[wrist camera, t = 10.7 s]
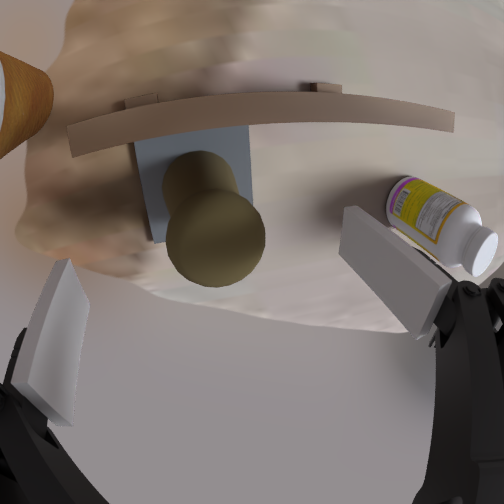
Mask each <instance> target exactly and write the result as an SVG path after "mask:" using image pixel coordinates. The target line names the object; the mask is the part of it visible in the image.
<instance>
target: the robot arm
mask: <svg viewBox="0 0 504 504" xmlns="http://www.w3.org/2000/svg"><path fill="white" fill-rule="evenodd" d="M339 255H340V256H341V257H342V258H343V259H344V260H345V261H346V262H347V263H348V264H349V265H350V266H351V268H352V269H353V270H354V271H355V272H356V273H357V274H358V275H359V276H360V277H361V278H362V279H363V280H364V281H365V283H366V284H367V285H368V286H369V287H370V288H371V289H372V290H373V291H374V292H375V294H376V295H377V296H378V297H379V298H380V299H381V300H382V301H383V302H384V304H385V305H386V306H387V307H388V308H389V309H390V310H391V312H392V313H393V314H394V315H395V316H396V317H397V318H398V320H399V321H400V322H401V323H402V324H403V325H404V327H405V328H406V329H407V330H408V331H409V332H410V334H411V335H412V336H413V337H414V338H415V339H416V340H417V339H419V338H421V337H422V336H424V335H426V334H428V333H429V331H430V329H431V327H432V325H433V323H434V324H435V325H436V326H437V330H436V331H435V333H434V335H433V337H432V339H431V341H430V343H429V347H431V346H432V344H433V342H434V341H435V346H434V347H435V348H436V389H435V408H434V420H433V429H432V439H431V446H430V453H429V459H428V464H427V470H426V475H425V480H424V483H423V486H422V487H421V489H420V490H419V491H418V493H417V494H416V496H415V498H414V500H413V503H412V504H504V279H501V278H494V279H492V280H491V283H490V285H489V287H488V288H483V289H481V288H480V287H479V286H478V285H476V284H475V283H473V282H470V281H464V280H463V281H460V282H458V281H457V280H455V279H454V278H453V277H452V276H451V275H450V274H449V273H447V272H446V271H445V270H444V269H443V268H442V267H440V266H439V265H438V264H436V262H434V261H433V260H432V259H430V257H428V256H427V255H426V254H425V253H423V252H422V251H420V250H418V249H416V248H414V247H412V246H410V245H409V244H408V243H407V242H405V241H404V240H403V239H401V238H400V237H399V236H398V235H396V234H395V233H394V232H392V231H391V230H390V229H388V228H387V227H386V226H384V225H383V224H382V223H380V222H379V221H378V220H376V219H375V218H374V217H372V216H371V215H369V214H368V213H367V212H365V211H364V210H363V209H361V208H360V207H358V206H357V205H355V206H348V207H344V213H343V223H342V232H341V240H340V248H339ZM89 309H90V303H89V301H88V299H87V297H86V295H85V292H84V290H83V288H82V286H81V284H80V281H79V279H78V277H77V275H76V272H75V270H74V268H73V265H72V263H71V260H70V258H68V259H63V260H59V261H56V262H55V265H54V267H53V269H52V271H51V273H50V275H49V277H48V279H47V281H46V284H45V286H44V288H43V290H42V293H41V295H40V297H39V300H38V302H37V304H36V307H35V309H34V312H33V315H32V317H31V320H30V322H29V325H28V328H24V329H23V330H22V332H21V333H20V334H19V336H18V337H17V340H16V342H15V345H14V350H13V351H12V354H11V359H10V361H9V364H8V368H7V371H6V374H5V379H4V382H3V385H2V384H1V383H0V504H109V503H108V502H107V501H106V500H105V499H104V498H103V496H102V495H101V494H100V493H99V492H98V491H97V490H96V489H95V488H94V486H93V485H92V484H91V483H90V482H89V481H88V479H87V478H86V477H85V476H84V475H83V473H82V472H81V471H80V470H79V468H78V467H77V466H76V464H75V463H74V462H73V461H72V459H71V458H70V457H69V455H68V454H67V452H66V451H65V450H64V448H63V447H62V445H61V444H60V443H59V441H58V440H57V438H56V437H55V435H54V434H53V432H52V431H51V430H50V429H49V427H47V420H48V419H49V420H50V421H51V422H53V423H54V424H55V425H56V426H73V420H74V405H75V395H76V385H77V377H78V369H79V362H80V356H81V350H82V344H83V338H84V333H85V327H86V322H87V318H88V313H89ZM500 319H501V321H502V323H503V325H502V326H501V328H500V329H499V331H498V332H497V330H496V329H495V327H496V325H497V323H498V322H499V320H500Z"/></svg>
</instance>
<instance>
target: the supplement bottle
mask: <svg viewBox="0 0 504 504" xmlns="http://www.w3.org/2000/svg"><path fill="white" fill-rule="evenodd" d="M386 214H387V218H388V220H389V222H390V224H391V225H392V226H393V227H395V228H396V229H397V230H398V231H400V232H401V233H403V234H404V235H405V236H407V237H408V238H409V239H411V240H412V241H413V242H415V243H416V244H417V245H419V246H420V247H421V248H423V249H424V250H425V251H427V252H428V253H429V254H430V255H432V256H433V257H434V258H436V259H437V260H438V261H439V262H440V263H442V264H443V265H444V266H446V267H450V268H454V267H458V266H460V265H463V267H464V268H465V270H466V271H467V272H468V273H469V274H471V275H472V276H474V277H477V276H479V275H480V274H482V273H483V272H484V270H485V269H486V268H487V267H488V265H489V264H490V262H491V260H492V258H493V256H494V254H495V251H496V248H497V244H498V236H497V233H496V232H494V231H493V230H491V229H490V228H489V227H482V222H481V217H480V215H479V213H478V211H477V210H476V209H475V208H474V207H472V206H471V205H469V204H467V203H465V202H464V201H462V200H460V199H458V198H456V197H454V196H452V195H451V194H449V193H447V192H445V191H443V190H441V189H439V188H437V187H435V186H433V185H431V184H429V183H427V182H425V181H423V180H421V179H419V178H416V177H406V178H403V179H402V180H400V181H399V182H398V183H397V184H396V185H395V186H394V187H393V189H392V190H391V192H390V194H389V197H388V200H387V204H386Z"/></svg>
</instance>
